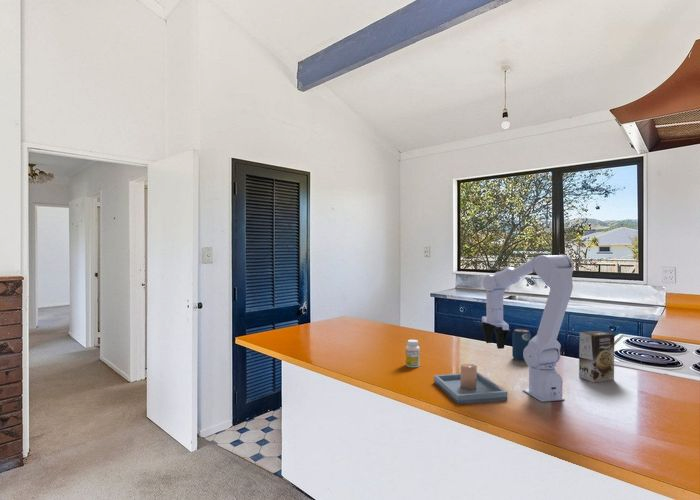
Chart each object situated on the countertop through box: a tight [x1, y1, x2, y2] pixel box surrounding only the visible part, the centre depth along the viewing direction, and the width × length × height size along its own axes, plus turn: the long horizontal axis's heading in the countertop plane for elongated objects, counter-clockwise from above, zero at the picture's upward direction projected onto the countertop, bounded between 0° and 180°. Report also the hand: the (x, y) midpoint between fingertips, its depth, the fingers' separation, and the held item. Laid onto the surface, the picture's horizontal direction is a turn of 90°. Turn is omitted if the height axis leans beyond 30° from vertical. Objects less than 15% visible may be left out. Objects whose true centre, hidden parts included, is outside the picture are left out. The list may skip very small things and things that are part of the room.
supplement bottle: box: [405, 339, 421, 368], centre depth 150 cm, size 5×5×10 cm
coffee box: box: [578, 330, 615, 384], centre depth 135 cm, size 9×6×16 cm
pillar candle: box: [459, 363, 478, 391], centre depth 124 cm, size 5×5×7 cm
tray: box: [433, 371, 508, 405], centre depth 124 cm, size 18×16×2 cm
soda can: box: [511, 328, 532, 363], centre depth 157 cm, size 7×7×12 cm
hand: (494, 345), depth 140 cm, fingers open, 7 cm apart
